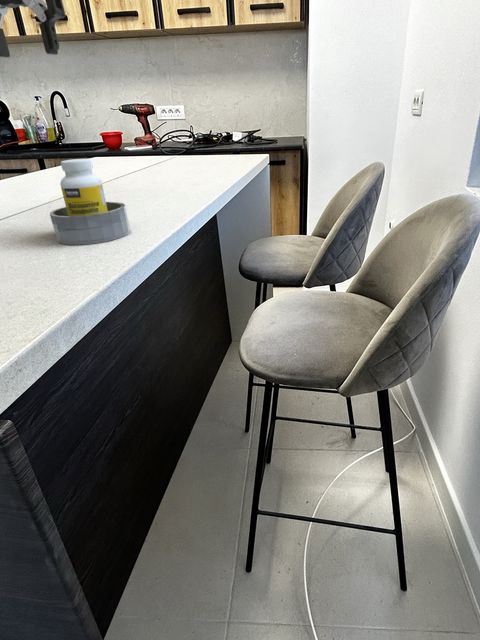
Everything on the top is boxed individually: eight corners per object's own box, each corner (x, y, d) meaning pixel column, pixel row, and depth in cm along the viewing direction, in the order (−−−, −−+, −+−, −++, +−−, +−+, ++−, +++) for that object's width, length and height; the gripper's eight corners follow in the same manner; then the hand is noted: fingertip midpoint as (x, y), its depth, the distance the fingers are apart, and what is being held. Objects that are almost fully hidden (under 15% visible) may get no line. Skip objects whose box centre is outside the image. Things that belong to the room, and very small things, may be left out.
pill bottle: (65, 237, 73) (45, 163, 67) (85, 227, 78) (68, 158, 73) (101, 237, 72) (83, 161, 66) (118, 227, 77) (103, 157, 72)
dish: (42, 244, 71) (33, 217, 69) (81, 226, 82) (75, 202, 79) (109, 245, 69) (102, 216, 67) (141, 226, 79) (136, 201, 77)
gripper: (-75, -92, 57) (-30, 56, 65) (19, -105, 54) (54, 50, 63) (-32, -72, 63) (5, 60, 71) (55, -83, 61) (82, 55, 69)
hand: (28, 55), depth 67 cm, fingers open, 8 cm apart
